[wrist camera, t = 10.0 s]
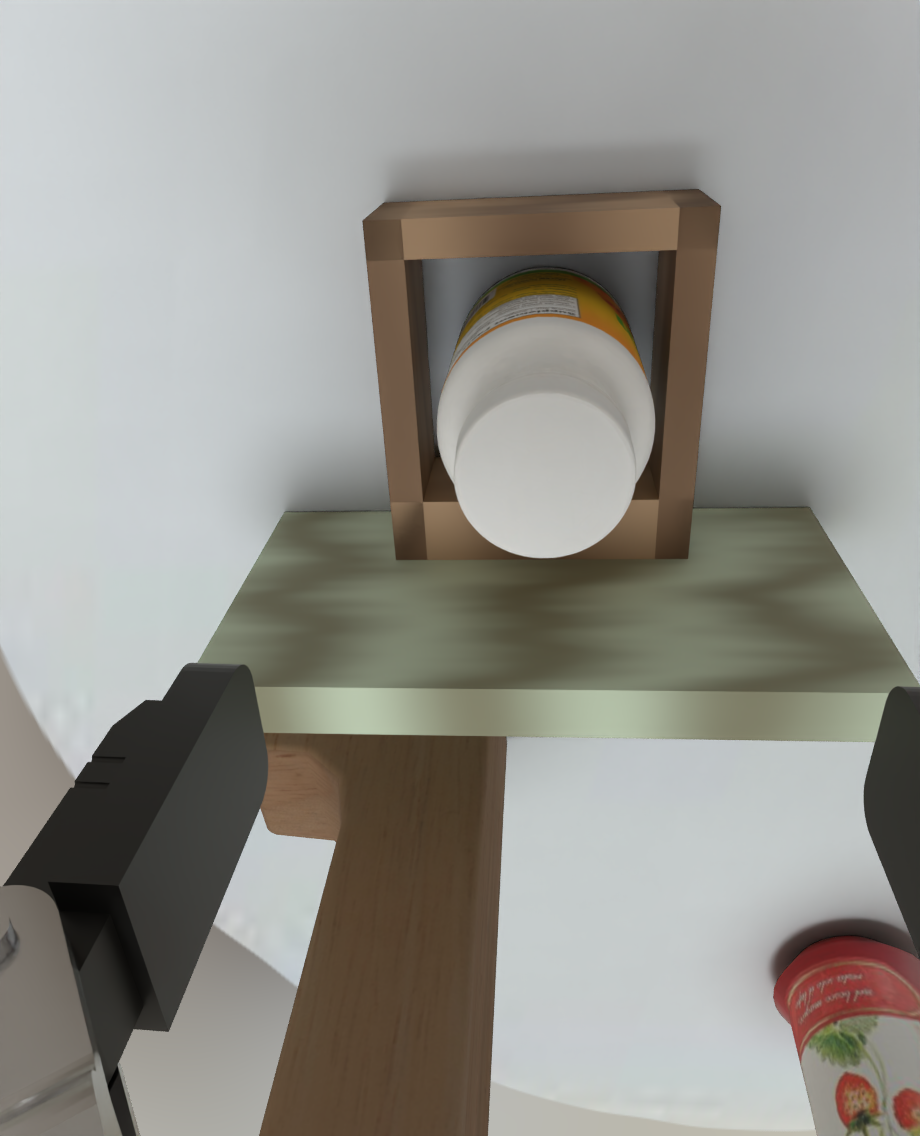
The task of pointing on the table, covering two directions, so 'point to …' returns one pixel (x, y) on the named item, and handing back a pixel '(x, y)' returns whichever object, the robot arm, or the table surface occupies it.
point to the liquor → (856, 1034)
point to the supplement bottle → (545, 414)
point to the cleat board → (563, 584)
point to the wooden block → (392, 933)
